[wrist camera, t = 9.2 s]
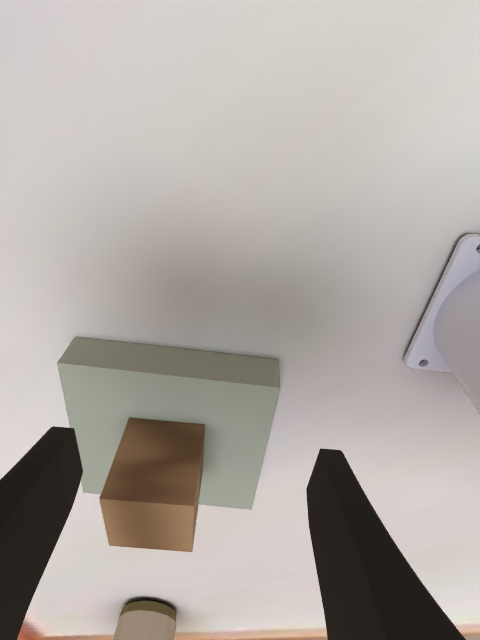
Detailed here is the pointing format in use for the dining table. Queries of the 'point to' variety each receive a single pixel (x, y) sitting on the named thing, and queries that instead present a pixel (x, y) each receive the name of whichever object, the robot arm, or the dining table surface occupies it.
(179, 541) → the walnut block
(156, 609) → the bottle
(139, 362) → the grey platform
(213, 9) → the dining table surface
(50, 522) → the robot arm
